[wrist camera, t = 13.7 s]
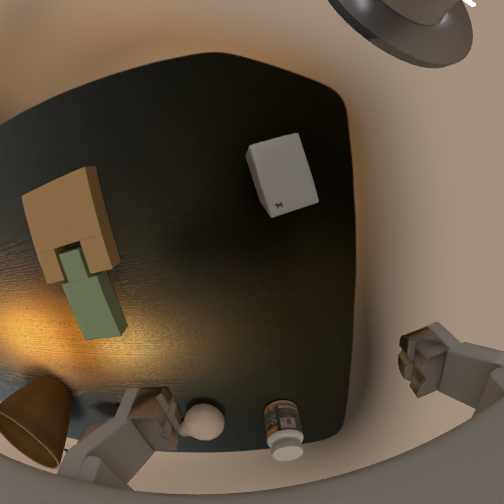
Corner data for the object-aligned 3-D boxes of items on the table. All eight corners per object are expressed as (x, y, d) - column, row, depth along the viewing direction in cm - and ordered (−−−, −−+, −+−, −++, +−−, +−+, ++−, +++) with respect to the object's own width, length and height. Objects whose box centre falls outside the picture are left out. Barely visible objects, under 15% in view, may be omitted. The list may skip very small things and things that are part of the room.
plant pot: (30, 346, 39) (-15, 396, 24) (93, 389, 42) (61, 452, 27) (27, 387, 43) (-6, 433, 27) (82, 424, 45) (57, 477, 30)
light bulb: (188, 453, 41) (224, 444, 36) (159, 431, 41) (190, 420, 36) (202, 428, 47) (238, 414, 42) (176, 407, 47) (208, 390, 42)
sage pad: (62, 250, 35) (51, 257, 32) (96, 240, 35) (86, 246, 32) (93, 330, 38) (85, 340, 36) (128, 325, 38) (121, 336, 35)
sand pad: (33, 193, 32) (21, 196, 29) (96, 166, 32) (84, 166, 29) (57, 276, 36) (47, 284, 33) (121, 261, 35) (112, 268, 33)
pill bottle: (265, 398, 43) (270, 445, 34) (299, 398, 43) (310, 442, 34) (262, 419, 45) (266, 463, 35) (294, 418, 45) (302, 461, 35)
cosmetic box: (294, 191, 34) (321, 204, 22) (259, 202, 34) (270, 220, 23) (279, 143, 32) (299, 131, 21) (244, 153, 32) (246, 146, 21)
